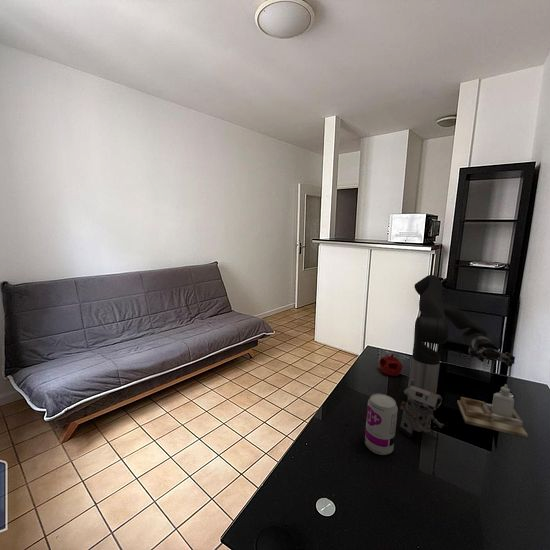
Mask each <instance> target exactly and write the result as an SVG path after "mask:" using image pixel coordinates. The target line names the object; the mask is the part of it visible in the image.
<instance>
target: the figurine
mask: <svg viewBox="0 0 550 550" xmlns="http://www.w3.org/2000/svg"><path fill="white" fill-rule="evenodd" d="M403 394H404V395H406V396H407V395H409V397H410V398H411V400H408V399H405V400H402V401H401V405H400V408H399V410H400V411H401V412H402V416H401V422H400V425H399V428H398V430H400V432H402V433H403V434H405V435H406V436H408V438H412V437H414V432H413V431H416V432H418V433H422V432H424V433H426V434H427V433H431V434H432V435H434V434H435V432H436V430H435V429H432V430H430V428H429V427H430V422H431V420H432V422H433V423H434V424H436V425H437V427H438V428H440V429H442V428H443V427H446V428H448V426H449V425H448V422H445V423H441V422H439V421H438V419H437V418H436V417H435V416H434V411H436V410H437V409H438V408H439V407H440V405H442V403H443V402H442V401H443V397H442V396H441V395H440V394H439V393H437V392H436V393H432V392H429V391H426V390H423V389H420V388H418V387H415V386H412V385H410V386H409V387H408V386H407V388H405V389H404V390H403Z"/></svg>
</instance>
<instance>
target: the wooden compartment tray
mask: <svg viewBox="0 0 550 550" xmlns="http://www.w3.org/2000/svg"><path fill="white" fill-rule="evenodd" d="M456 403H457V406H458V408H459V412H460V413H461V417H462V419H463V422H464V423H465V424H467V425H471V426H476V427H480V428H484V429H489V430H492V431H493V430H494V431H497V432H501V433H505V434H510V435H515V436H518V437H523V438H527V439H528V436H529V435H528V433H527V432H526V430H525V428H523V422H524V421H523V420H522V418H521V417H520V415H519V414H518V412H517V411H516V410H515V409H514V408H513V414H512V418H510V417H505V416H501V415H496V414H491V408H492V403H487V402H485V401H483V400H478V399H473V398H469V397H464V396H460V400H458V399H457V402H456Z"/></svg>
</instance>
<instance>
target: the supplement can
mask: <svg viewBox="0 0 550 550" xmlns="http://www.w3.org/2000/svg"><path fill="white" fill-rule="evenodd" d="M398 410H399V409H398V406H397V402H396V400H395V399H394V398H393V397H391V396H389V395H387V394H384V393H373V394H372V395H371V396H370V397H369V399H368V401H367V410H366V419H365V420H366V422H365V431H364V443H365V446H366V447H367V448H368V449H369V451H371V452H373V453H374V454H376V455H381V456H387V455H389V454H391V453H393V451H394V446H395V437H396V428H397V418H398Z"/></svg>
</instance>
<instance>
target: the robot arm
mask: <svg viewBox="0 0 550 550" xmlns="http://www.w3.org/2000/svg"><path fill="white" fill-rule="evenodd" d="M414 289H415V292H416V293H417V294H418V295H419V296H420V298H419V301H418V307H419V308H418V309H419V313H420V314H421V315H422V316H421V315H420V316H418V317H416V319H415V323H414V332H413V333H414V334H413V348H412V354H411V364H410V372H409V374H408V385H407V388H408V387H409V386H410V385H412V386H415V387H418V388H420V389H423V390H426V391H429V392H432V393H437V388H438V382H439V373H440V366H441V355H440V353H439V352H438V351H437V350H435V349H432V348H431V347H429V346H427V345H426V344H425V343H427V344H433V345H434V344H435V345H444V344H446V343H448V339H449V335H450V333H449V331H450V330H449V324H448V321H449V322H450V323H451V324H452V325H453V327H455V329H457V330H459V331H462V330H465V329H466V330H465V331H464V332H462V333H461V335H460V337H461V340H462V342H464V343H465V344H466V345H468V354H469V356H470V357H471V358H476V359H477V360H479V361H480V363H481V362H482V363H484V362H485V360H494V361H497V362H501V363H504V364H506V366H508V367H509V368H510V367H512V366H513V364H515V359H516V357H515V356H514V355H513V354H511V353H510V352H509V351H506V352H505V353H503V352H502V351H499V349H498V347H497V345H496V344H494V343H493V341H492V340H490V338H488V332H487V330H486V329H485V328H483V326H480V325H479V324H477V323H475V322H474V321H472V320H471V319H470V318H469V317H468V316H467V315H466V314H465V313H463V311H462V310H460V309H459V307H456V306H453V305H451V304H448V303H445V302H444V299H443V291H444V286H443V283H442V280H440V278H439V277H438V276H436V275H434V274H429V275H426V276H425V277H423V278H422V279H420V280H419V281H417V282H415V284H414ZM447 320H448V321H447ZM406 397H407V401H408V400H411V398H410V397H409V395H406Z"/></svg>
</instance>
